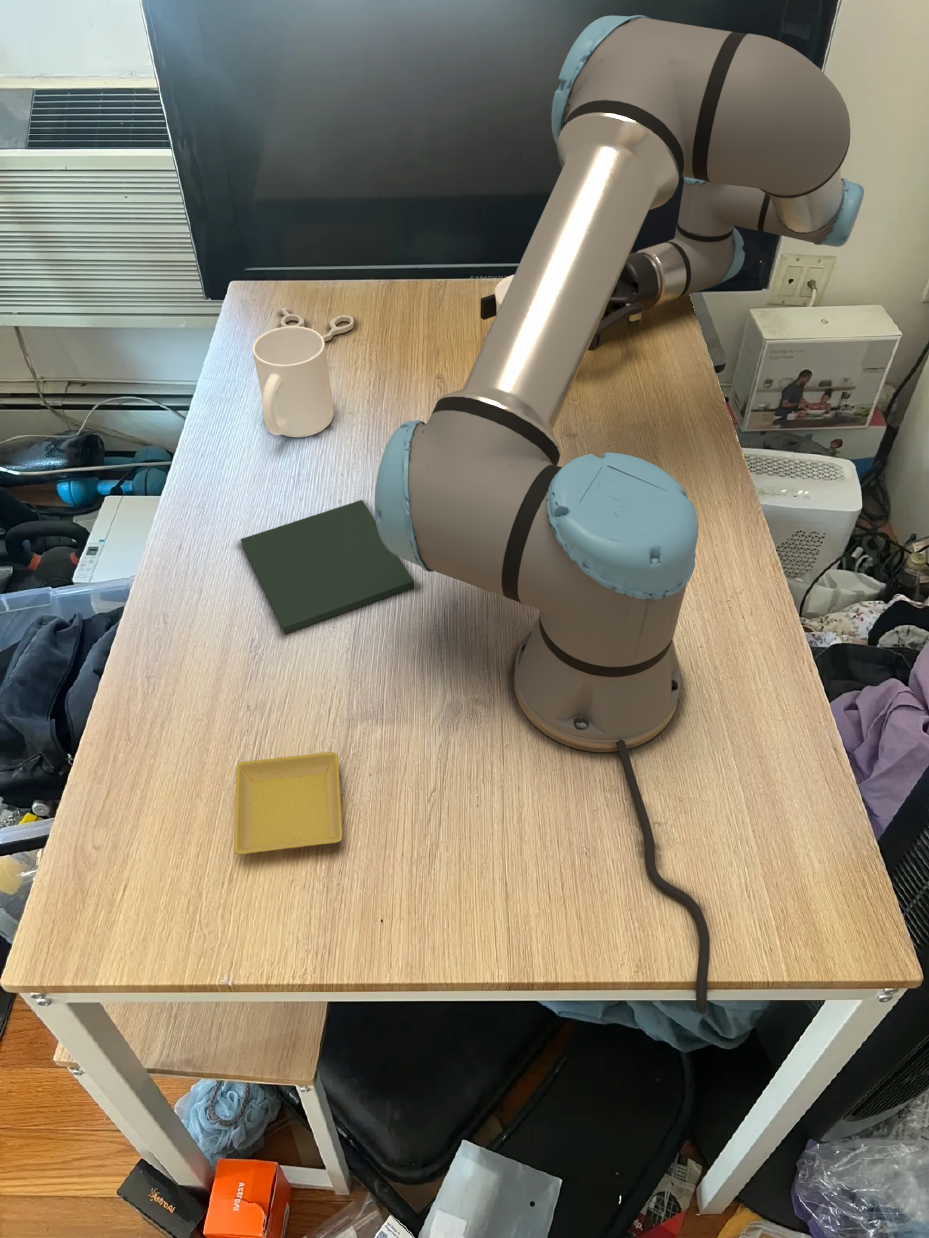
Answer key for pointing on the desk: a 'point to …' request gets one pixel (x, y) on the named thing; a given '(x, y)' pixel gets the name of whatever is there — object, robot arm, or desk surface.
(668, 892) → the robot arm
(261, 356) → the mug
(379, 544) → the cup mat
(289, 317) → the scissors
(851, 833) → the desk surface
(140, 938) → the desk surface
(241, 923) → the desk surface
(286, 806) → the saucer
